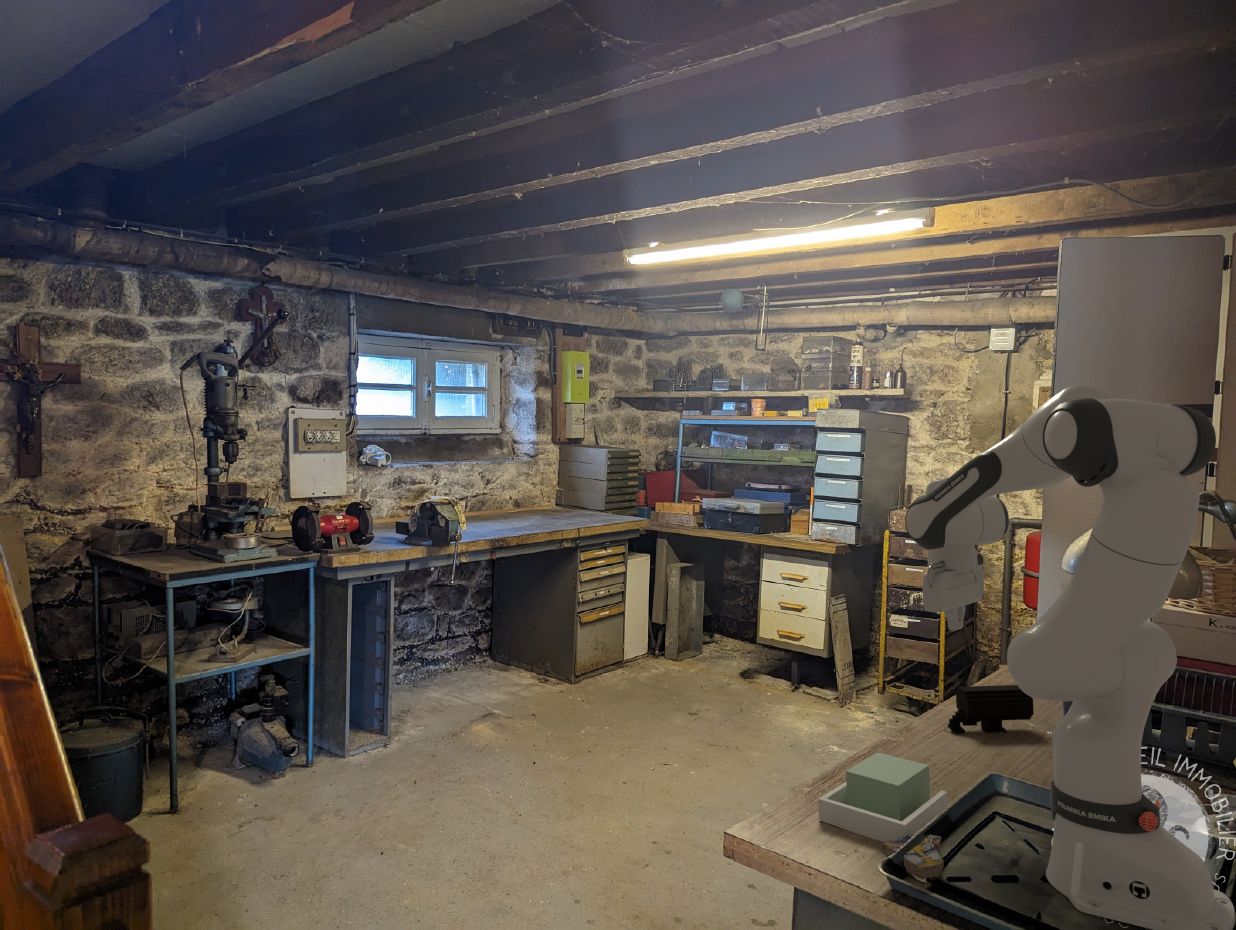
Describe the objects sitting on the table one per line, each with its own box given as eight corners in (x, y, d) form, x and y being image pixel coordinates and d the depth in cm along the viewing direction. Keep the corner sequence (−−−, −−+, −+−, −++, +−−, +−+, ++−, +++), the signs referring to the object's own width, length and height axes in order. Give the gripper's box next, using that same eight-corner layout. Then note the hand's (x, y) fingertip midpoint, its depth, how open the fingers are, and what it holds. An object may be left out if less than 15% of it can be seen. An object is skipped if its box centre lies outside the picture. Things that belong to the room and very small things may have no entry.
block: (930, 808, 141) (929, 765, 141) (900, 832, 132) (898, 785, 132) (879, 793, 148) (877, 752, 148) (847, 815, 140) (845, 770, 140)
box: (948, 814, 138) (946, 791, 138) (906, 849, 126) (905, 825, 126) (864, 790, 149) (864, 769, 149) (819, 821, 137) (818, 798, 137)
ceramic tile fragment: (956, 867, 114) (885, 862, 116) (957, 889, 114) (886, 884, 116) (939, 831, 126) (875, 827, 128) (940, 851, 126) (876, 847, 128)
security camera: (944, 727, 183) (942, 685, 183) (1023, 725, 182) (1021, 682, 182) (956, 737, 176) (954, 693, 176) (1038, 735, 175) (1036, 691, 175)
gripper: (944, 564, 144) (948, 638, 143) (987, 555, 158) (992, 623, 157) (911, 563, 148) (916, 635, 148) (957, 555, 162) (961, 620, 162)
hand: (955, 629), depth 152 cm, fingers closed
